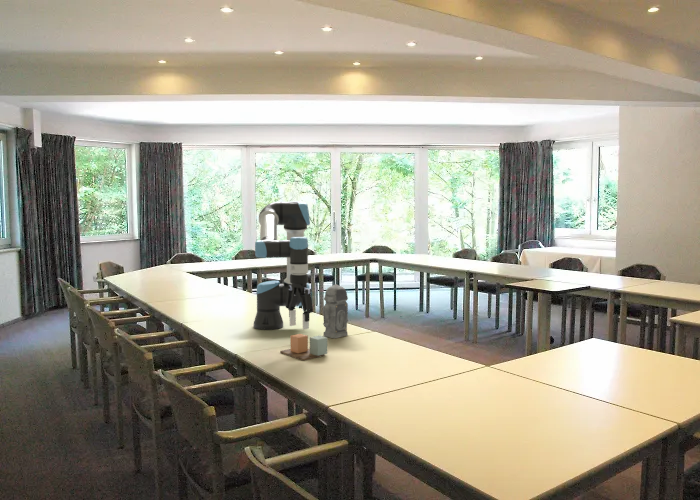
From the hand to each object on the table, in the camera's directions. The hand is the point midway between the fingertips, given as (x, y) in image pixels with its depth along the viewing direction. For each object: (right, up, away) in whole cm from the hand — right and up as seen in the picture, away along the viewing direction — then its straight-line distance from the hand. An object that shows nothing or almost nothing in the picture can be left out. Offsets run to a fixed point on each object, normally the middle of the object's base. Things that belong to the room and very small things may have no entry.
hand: (299, 327), depth 235 cm
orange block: (0, -10, +1) cm, 10 cm away
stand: (+1, -11, 0) cm, 11 cm away
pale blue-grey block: (+8, -12, -2) cm, 14 cm away
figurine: (+14, -9, +33) cm, 37 cm away
